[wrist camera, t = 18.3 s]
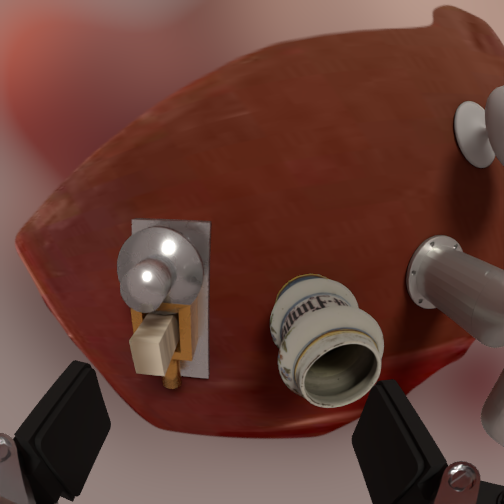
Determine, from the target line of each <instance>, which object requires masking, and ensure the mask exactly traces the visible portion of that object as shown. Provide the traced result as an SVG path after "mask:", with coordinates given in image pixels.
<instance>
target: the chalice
mask: <svg viewBox="0 0 504 504" xmlns="http://www.w3.org/2000/svg"><path fill="white" fill-rule="evenodd" d="M454 128H455V135H456V139H457V142H458V145H459V147H460V149H461V151H462V153H463V155H464V156H465V158H466V159H467V160H468V161H469V162H470V163H471V164H472V165H474V166H475V167H478V168H485V167H487V166H489V165H490V164H491V163H492V162H493V160H494V158H495V155H496V157H497V159H498V160H499V161H500V162H501V164H502V165H503V166H504V86H501V87H498V88H496V89H495V90H494V91H493V92H492V93H491V94H490V95H489V97H488V99H487V103H486V107H485V110H484V109H483V108H482V107H481V106H480V105H478V104H477V103H475V102H471V101H466V102H463V103H462V104H460V105H459V107H458V108H457V111H456V114H455V119H454Z"/></svg>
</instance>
